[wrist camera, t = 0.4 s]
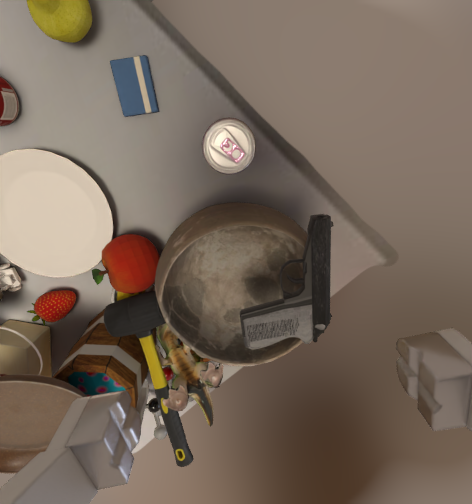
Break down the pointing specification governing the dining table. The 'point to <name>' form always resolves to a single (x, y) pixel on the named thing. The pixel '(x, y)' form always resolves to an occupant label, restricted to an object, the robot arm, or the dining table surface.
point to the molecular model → (153, 407)
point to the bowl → (227, 278)
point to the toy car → (9, 278)
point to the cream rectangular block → (24, 349)
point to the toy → (187, 374)
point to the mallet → (149, 357)
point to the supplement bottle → (127, 294)
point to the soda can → (7, 103)
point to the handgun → (296, 296)
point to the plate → (51, 214)
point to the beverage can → (229, 146)
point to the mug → (107, 364)
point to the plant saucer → (30, 416)
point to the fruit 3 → (129, 263)
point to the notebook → (134, 85)
